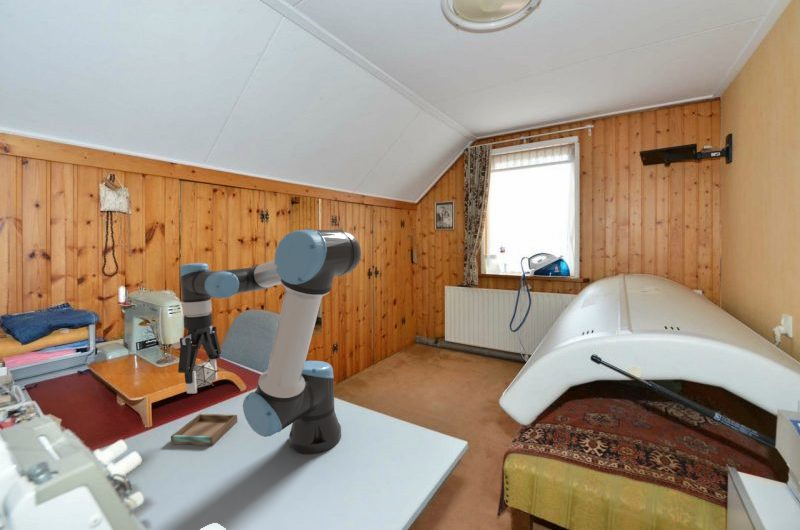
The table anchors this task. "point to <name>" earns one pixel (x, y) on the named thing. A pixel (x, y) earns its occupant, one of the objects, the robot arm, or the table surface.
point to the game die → (204, 374)
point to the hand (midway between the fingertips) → (202, 385)
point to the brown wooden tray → (204, 429)
